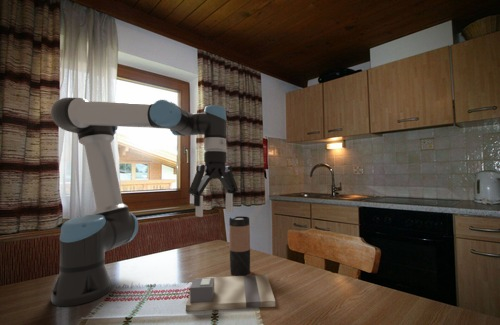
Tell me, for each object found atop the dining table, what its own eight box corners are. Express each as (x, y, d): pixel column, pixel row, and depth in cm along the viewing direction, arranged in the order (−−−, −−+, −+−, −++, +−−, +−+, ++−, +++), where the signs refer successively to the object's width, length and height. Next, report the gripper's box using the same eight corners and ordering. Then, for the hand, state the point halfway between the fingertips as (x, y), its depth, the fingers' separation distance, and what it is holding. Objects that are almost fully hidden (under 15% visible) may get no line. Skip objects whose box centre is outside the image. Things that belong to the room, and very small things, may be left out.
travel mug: (250, 276, 88) (249, 219, 89) (228, 276, 88) (228, 219, 90) (250, 268, 96) (249, 216, 97) (230, 269, 96) (230, 216, 97)
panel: (185, 311, 66) (185, 305, 66) (196, 282, 84) (196, 277, 84) (275, 306, 68) (275, 300, 68) (266, 279, 86) (266, 274, 86)
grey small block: (190, 303, 67) (190, 286, 68) (193, 292, 73) (193, 277, 74) (212, 301, 68) (212, 285, 68) (214, 291, 74) (214, 276, 74)
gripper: (192, 147, 74) (191, 220, 73) (247, 153, 93) (247, 210, 92) (177, 149, 78) (176, 217, 77) (232, 154, 98) (232, 209, 97)
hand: (215, 214), depth 85 cm, fingers open, 13 cm apart
